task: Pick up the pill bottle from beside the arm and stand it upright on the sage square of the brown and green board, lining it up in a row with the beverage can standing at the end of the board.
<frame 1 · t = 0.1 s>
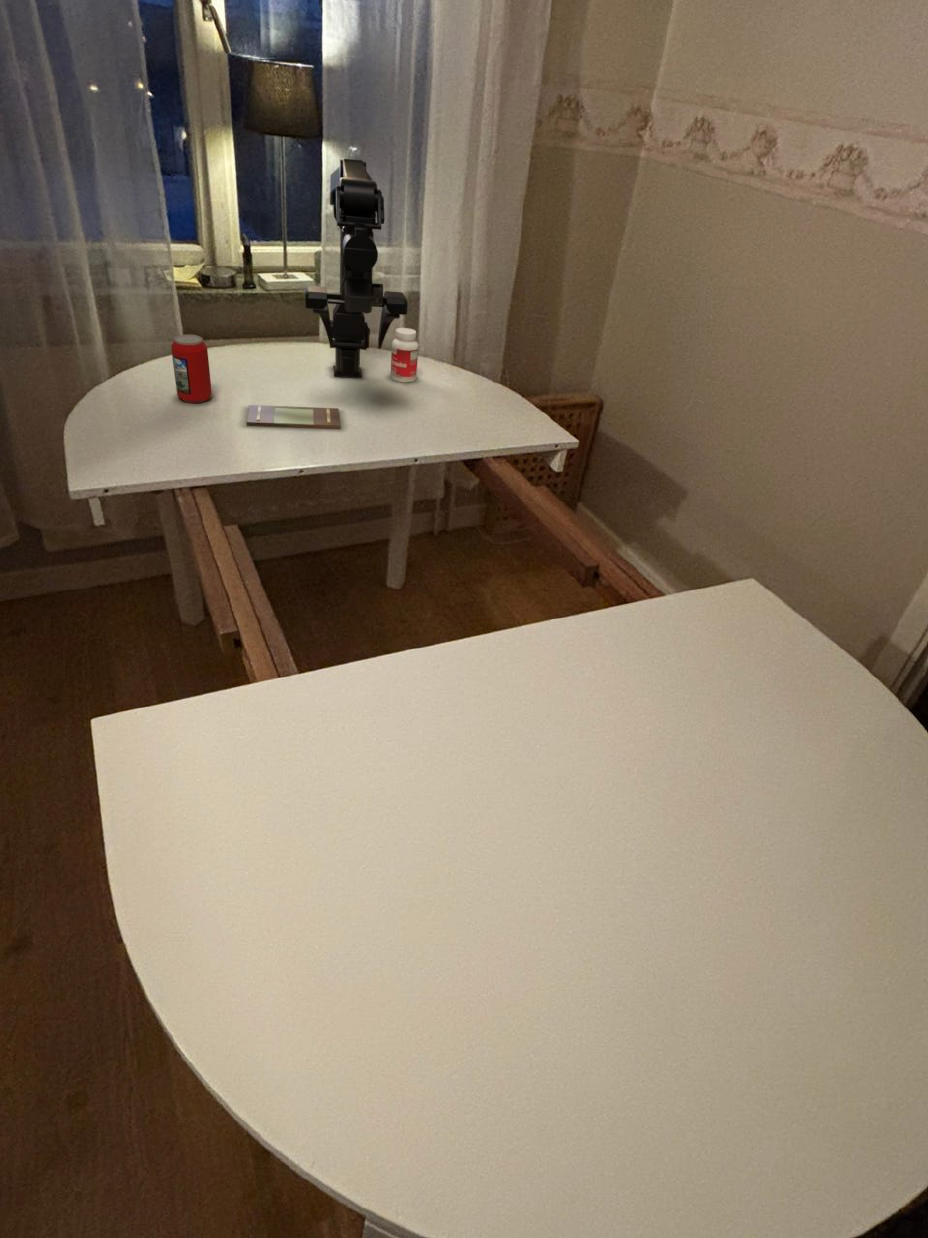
hand: (355, 346, 143), 15 cm above the table, tool pointing down, fingers open, 9 cm apart
brown and green board: (294, 418, 149), on the table
pill bottle: (403, 379, 175), on the table
beverage can: (195, 399, 152), on the table
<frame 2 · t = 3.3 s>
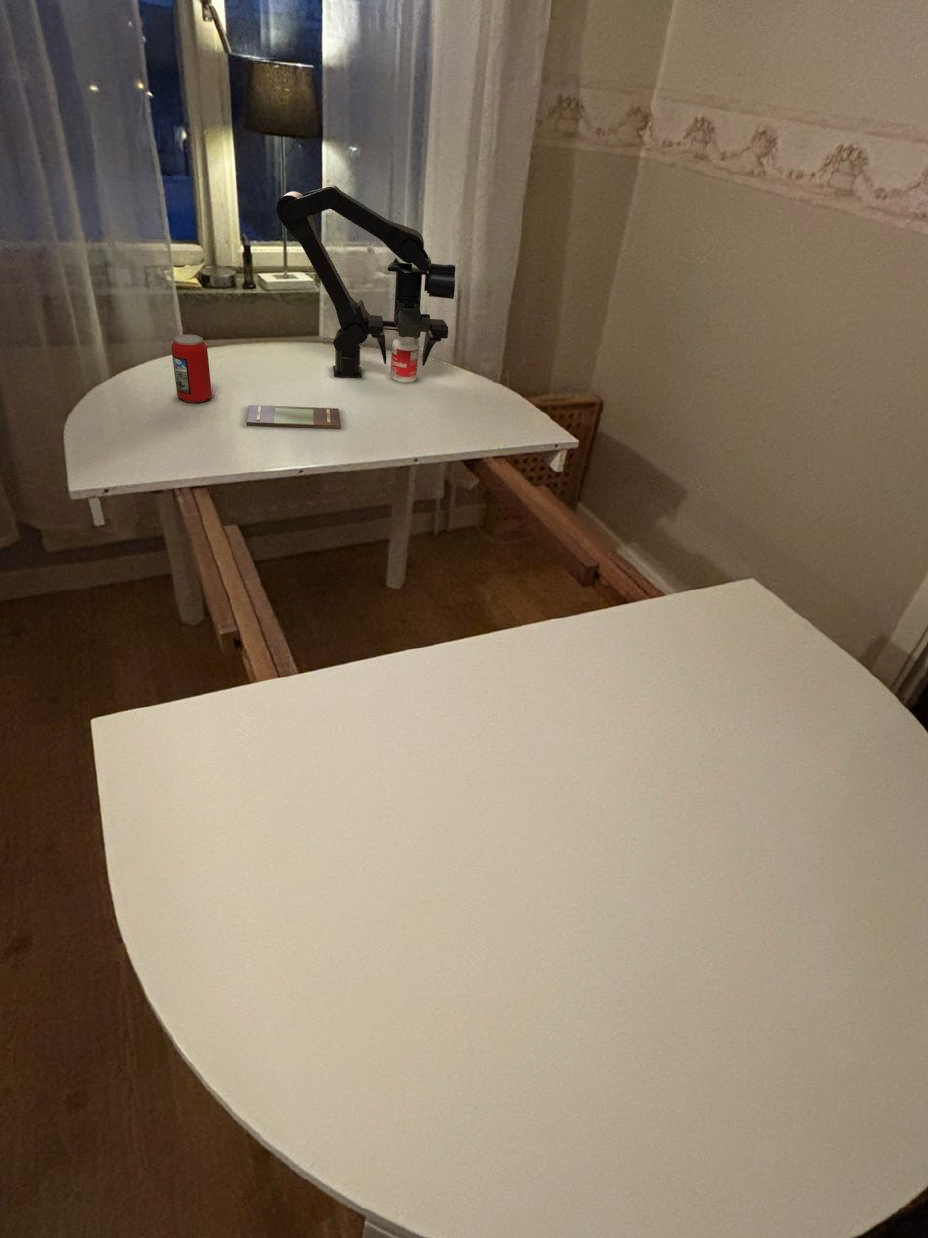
hand: (404, 364, 173), 3 cm above the table, tool pointing down
pill bottle: (403, 379, 175), on the table, touching gripper
everything else where it was.
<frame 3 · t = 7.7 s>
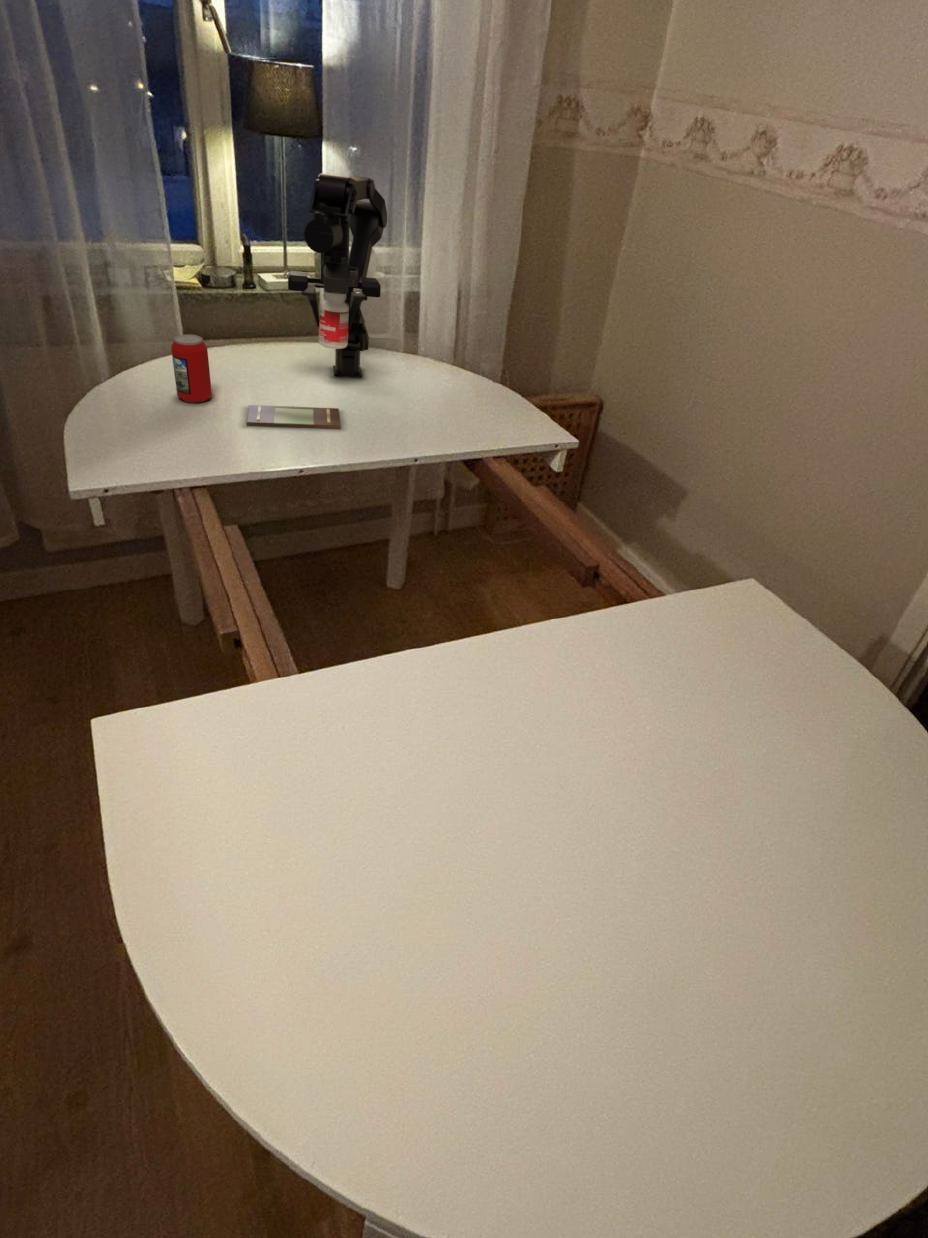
hand: (333, 327, 157), 13 cm above the table, tool pointing down, fingers closed on pill bottle, 6 cm apart
pill bottle: (333, 346, 160), point 9 cm above the table, touching gripper
everything else where it was.
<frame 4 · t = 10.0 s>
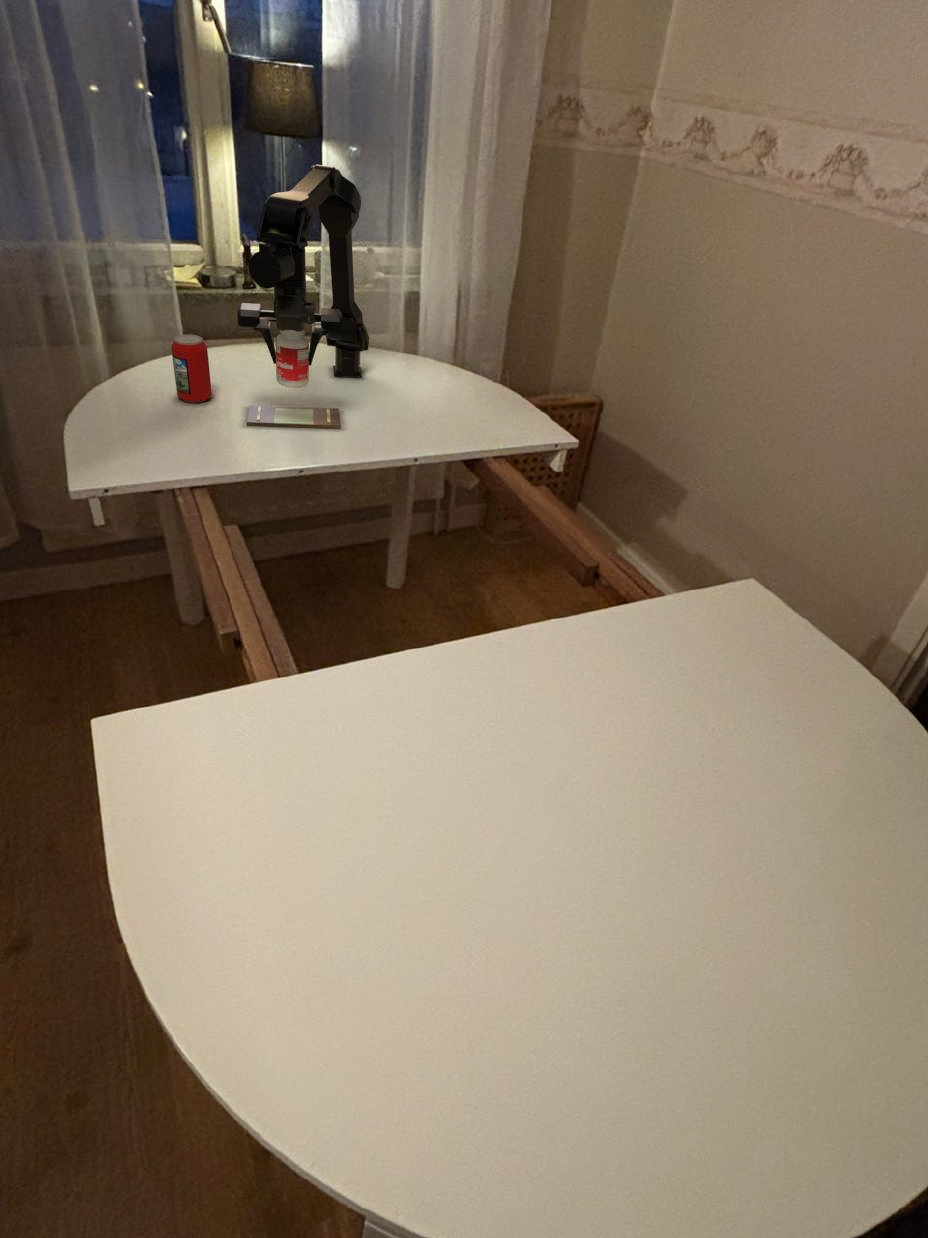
hand: (292, 364, 142), 11 cm above the table, tool pointing down, fingers closed on pill bottle, 6 cm apart
pill bottle: (292, 383, 144), point 7 cm above the table, touching gripper
everything else where it was.
when the fingers open (5 cm above the table, at t = 11.9 s): pill bottle stays where it is, resting on brown and green board.
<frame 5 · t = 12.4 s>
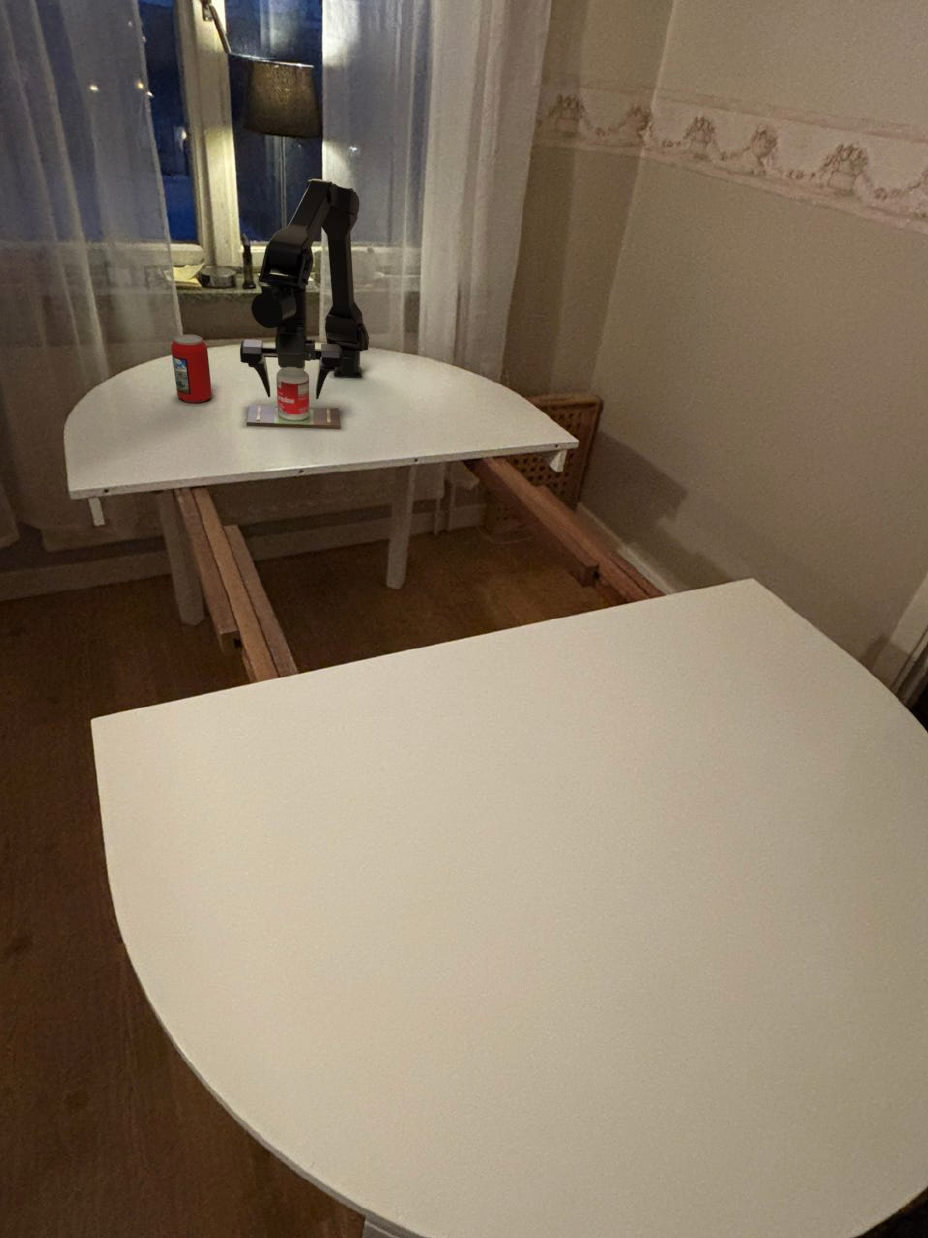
hand: (293, 397, 145), 5 cm above the table, tool pointing down, fingers open, 9 cm apart
pill bottle: (293, 416, 148), point 1 cm above the table, touching brown and green board
everything else where it was.
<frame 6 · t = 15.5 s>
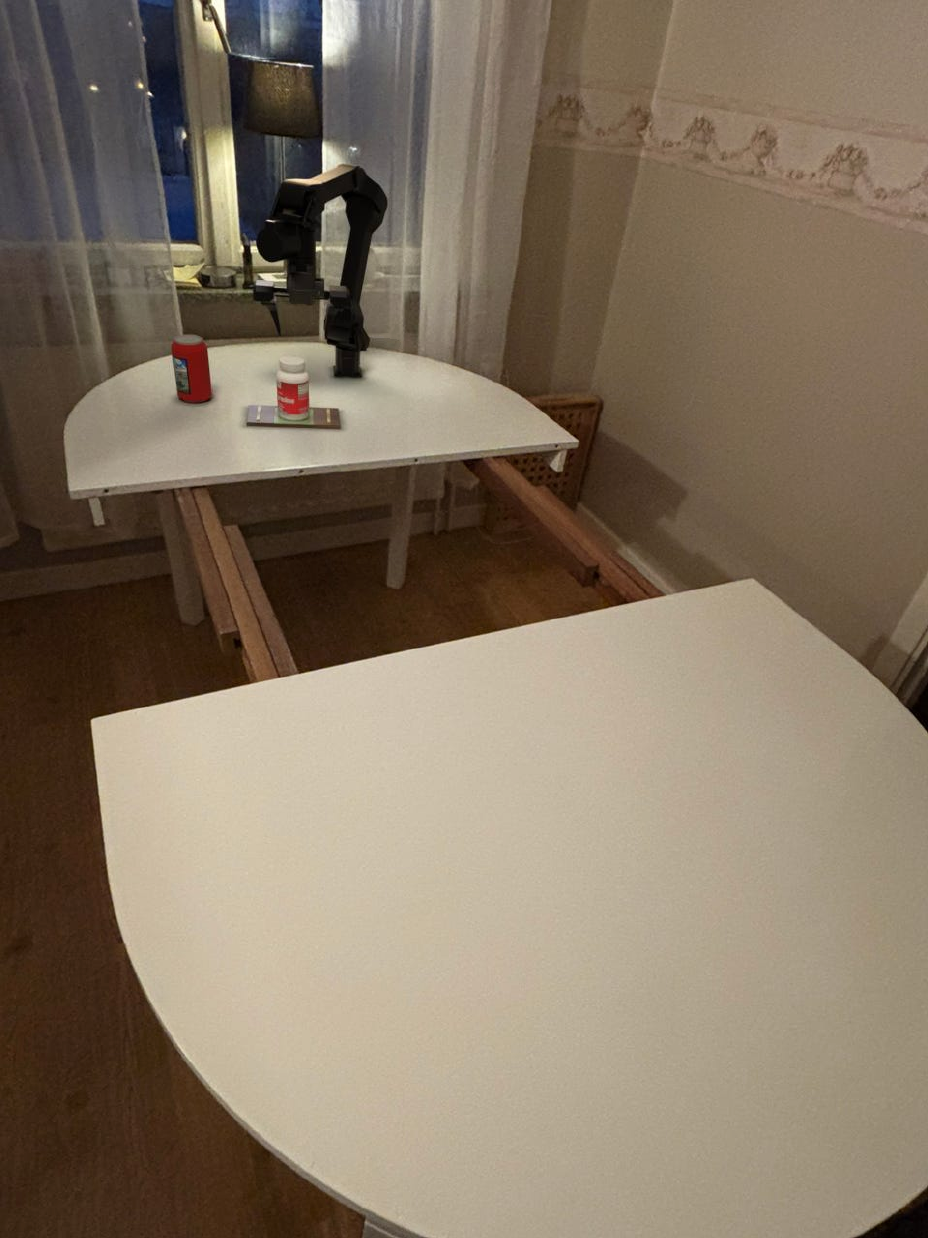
hand: (302, 337, 153), 12 cm above the table, tool pointing down, fingers open, 9 cm apart
nothing on the table moved.
at the end: pill bottle 0.1 cm from the target spot on the brown and green board, point 0.8 cm above the brown and green board's base; pill bottle tilted 0°; beverage can moved 0.2 cm from its start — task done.
